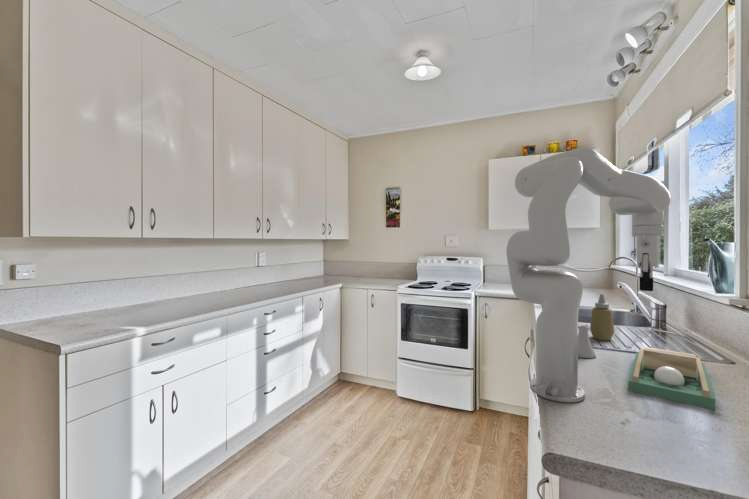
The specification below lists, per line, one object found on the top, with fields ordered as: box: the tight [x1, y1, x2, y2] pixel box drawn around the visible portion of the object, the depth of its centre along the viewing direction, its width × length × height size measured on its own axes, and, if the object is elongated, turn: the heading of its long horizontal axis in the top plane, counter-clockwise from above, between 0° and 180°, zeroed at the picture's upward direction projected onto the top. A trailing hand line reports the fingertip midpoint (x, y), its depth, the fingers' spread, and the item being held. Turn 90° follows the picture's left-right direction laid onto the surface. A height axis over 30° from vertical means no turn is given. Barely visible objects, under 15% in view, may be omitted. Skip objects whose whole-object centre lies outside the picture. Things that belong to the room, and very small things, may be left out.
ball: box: [654, 366, 685, 386], centre depth 87 cm, size 6×6×6 cm
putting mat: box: [627, 347, 716, 411], centre depth 93 cm, size 30×16×4 cm, turn 139°
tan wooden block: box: [643, 346, 697, 378], centre depth 93 cm, size 4×11×5 cm, turn 49°
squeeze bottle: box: [589, 293, 615, 342], centre depth 133 cm, size 8×8×18 cm
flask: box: [578, 325, 597, 359], centre depth 114 cm, size 7×7×10 cm
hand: (646, 290), depth 104 cm, fingers closed
